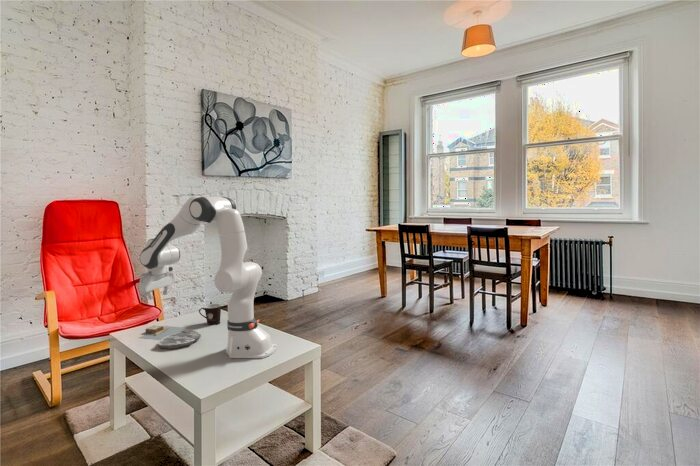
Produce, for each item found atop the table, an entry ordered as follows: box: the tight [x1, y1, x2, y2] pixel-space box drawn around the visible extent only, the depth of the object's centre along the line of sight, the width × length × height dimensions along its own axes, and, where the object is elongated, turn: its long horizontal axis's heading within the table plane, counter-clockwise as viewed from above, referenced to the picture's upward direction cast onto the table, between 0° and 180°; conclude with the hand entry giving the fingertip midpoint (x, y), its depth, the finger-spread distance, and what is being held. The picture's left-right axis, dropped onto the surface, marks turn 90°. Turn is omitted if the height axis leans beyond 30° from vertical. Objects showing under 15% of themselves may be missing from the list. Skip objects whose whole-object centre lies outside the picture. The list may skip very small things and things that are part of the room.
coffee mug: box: [198, 303, 222, 326], centre depth 203 cm, size 12×9×10 cm
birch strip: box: [155, 328, 169, 336], centre depth 189 cm, size 1×9×1 cm, turn 166°
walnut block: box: [144, 325, 164, 334], centre depth 190 cm, size 2×6×6 cm
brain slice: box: [156, 329, 202, 350], centre depth 176 cm, size 20×17×3 cm
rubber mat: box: [138, 325, 187, 341], centre depth 189 cm, size 14×18×1 cm
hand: (158, 296), depth 188 cm, fingers open, 8 cm apart
